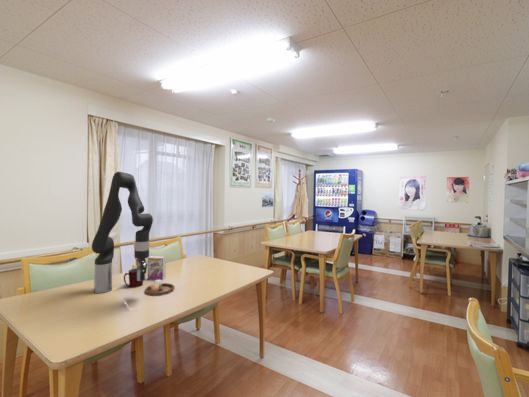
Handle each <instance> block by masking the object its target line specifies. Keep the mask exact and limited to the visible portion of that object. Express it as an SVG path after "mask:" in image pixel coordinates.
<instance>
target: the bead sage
mask: <svg viewBox="0 0 529 397" xmlns="http://www.w3.org/2000/svg"><path fill="white" fill-rule="evenodd" d="M162 281H163V280H160V279H158V280H153V284H154V283H158V284H159V287H162V283H163V282H162Z"/></svg>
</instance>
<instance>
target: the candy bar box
mask: <svg viewBox="0 0 529 397" xmlns="http://www.w3.org/2000/svg"><path fill="white" fill-rule="evenodd" d="M166 263H167V257H166V256H155V255H153V256H152V255H151V256H149V257H148V258H147V281H150V280H151V281H154V280H158V279H160V280H162V281H164V280H165V279H166V275H167V271H166V270H167V267H166V266H167V264H166Z"/></svg>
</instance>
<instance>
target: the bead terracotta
mask: <svg viewBox="0 0 529 397" xmlns="http://www.w3.org/2000/svg"><path fill="white" fill-rule="evenodd" d="M150 286H151V292H159V284H158V283H154V282H153V283H151V284H150Z"/></svg>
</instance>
